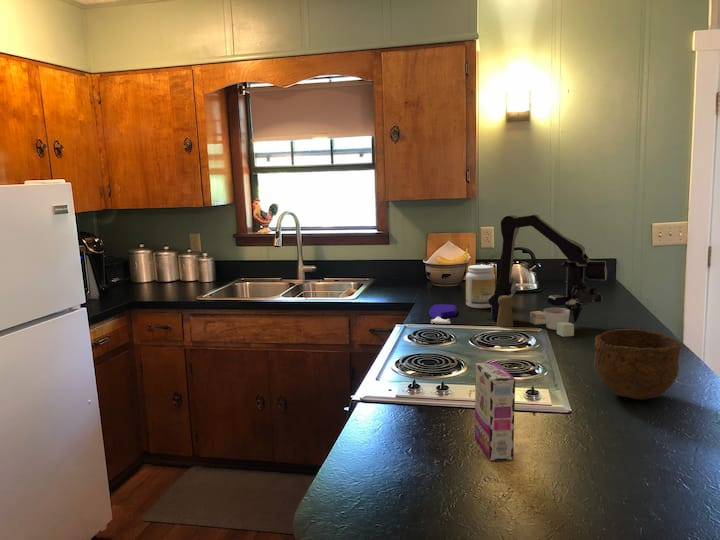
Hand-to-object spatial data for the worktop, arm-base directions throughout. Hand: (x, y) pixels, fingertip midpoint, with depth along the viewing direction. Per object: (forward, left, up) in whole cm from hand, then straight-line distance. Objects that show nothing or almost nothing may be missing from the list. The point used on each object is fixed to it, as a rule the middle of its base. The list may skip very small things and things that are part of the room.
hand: (574, 322), depth 213 cm
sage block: (+9, -9, -2) cm, 13 cm away
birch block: (-9, -9, -2) cm, 13 cm away
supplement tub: (-44, -16, -2) cm, 47 cm away
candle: (0, -7, -2) cm, 7 cm away
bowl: (+65, -26, -2) cm, 71 cm away
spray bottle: (-30, -39, -2) cm, 49 cm away
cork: (-10, -22, -2) cm, 24 cm away
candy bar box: (+81, -71, -2) cm, 108 cm away
